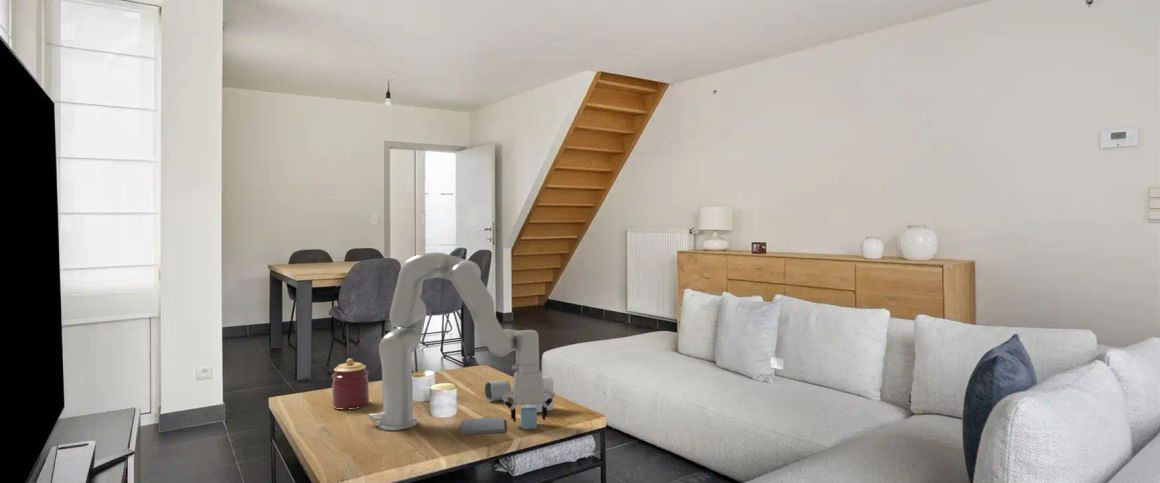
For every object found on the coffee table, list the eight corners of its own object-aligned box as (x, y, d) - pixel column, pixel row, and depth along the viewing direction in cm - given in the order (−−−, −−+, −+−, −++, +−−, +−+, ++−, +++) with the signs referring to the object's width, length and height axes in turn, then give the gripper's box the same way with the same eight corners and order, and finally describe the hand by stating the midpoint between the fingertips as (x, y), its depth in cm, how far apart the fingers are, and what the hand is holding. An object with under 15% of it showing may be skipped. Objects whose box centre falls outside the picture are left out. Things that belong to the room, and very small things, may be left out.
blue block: (521, 429, 203) (521, 410, 203) (520, 424, 208) (520, 406, 208) (537, 428, 204) (536, 409, 204) (535, 423, 209) (535, 405, 208)
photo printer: (549, 407, 227) (548, 373, 227) (555, 410, 223) (554, 375, 223) (524, 412, 221) (523, 377, 221) (530, 415, 218) (529, 379, 217)
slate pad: (460, 434, 198) (460, 431, 198) (462, 422, 211) (461, 419, 211) (504, 432, 200) (504, 428, 200) (503, 419, 213) (503, 416, 213)
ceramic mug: (512, 400, 237) (511, 380, 237) (492, 404, 232) (492, 383, 232) (499, 394, 246) (499, 375, 246) (480, 398, 241) (480, 378, 241)
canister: (373, 406, 232) (372, 359, 232) (337, 412, 225) (335, 364, 225) (364, 398, 243) (362, 353, 243) (328, 404, 236) (327, 358, 235)
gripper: (501, 372, 200) (502, 425, 201) (555, 369, 203) (556, 421, 203) (501, 367, 208) (502, 418, 208) (552, 364, 210) (554, 414, 211)
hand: (529, 419), depth 206 cm, fingers open, 9 cm apart
